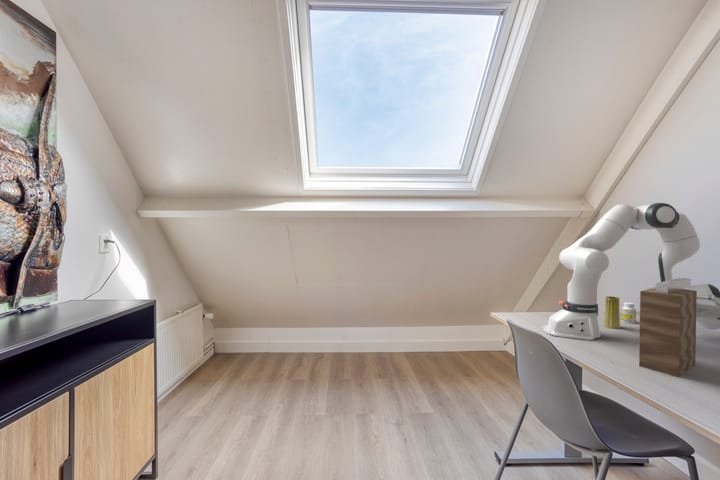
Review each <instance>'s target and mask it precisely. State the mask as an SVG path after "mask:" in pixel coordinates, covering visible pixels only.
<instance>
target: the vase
mask: <svg viewBox="0 0 720 480" xmlns="http://www.w3.org/2000/svg"><path fill="white" fill-rule="evenodd" d="M604 308H605V309H604V310H605V311H604V323H603V324H604V325H603V326H604V327H605V328H609V329H615V330H618V329H621V322H620V321H621V320H620V297H618V296H605V307H604Z"/></svg>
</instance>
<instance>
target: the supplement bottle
mask: <svg viewBox="0 0 720 480" xmlns="http://www.w3.org/2000/svg"><path fill="white" fill-rule="evenodd" d="M636 314H637V309H636V307H635V303H633V302H628V301H627V302H623V306H622V307H621V321H622V323H626V324H635V323H636V319H637V318H636V317H637V315H636Z"/></svg>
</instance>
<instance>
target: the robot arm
mask: <svg viewBox="0 0 720 480" xmlns="http://www.w3.org/2000/svg"><path fill="white" fill-rule="evenodd" d="M630 229H632V230H638V231H641V230H654V229H655V230H656V231H657V232H658V233H659V235H660V239H661V241H662V244H663V248H662V249H663V250H662V252H660V253H659V255H658V257H657V258H658V259H657V261H658V270H659V271H658V272H659V276H660V277H659V278H660V282H664V281H668V280H672V279H674V277H673V273H672V272H673V271H672V269H673V268H674V267H675V266H676V265H678V264H679V263H681V262H683V261H686V260H687V259H690V258H691V257H693V256H694V255H696V254H697V252H699V250H700V248H701V244H700V238H699V237H698V234H697V231H696V229H695V226H693V224H692V222H691V221H690V219H689V218H688V216H687V215H685V214H684V213H681V212H678V211H677V209H676V208H675V207H674V206H673V205H671V204H669V203H665V202H655V203H645V204H641V205H638V206H632V205H629V204H625V203H620V204H616V205H615V206H613V207H612V208H611V209H609V210H608V211H607V212H606V213H605V214H604V215H603V216H601V218H600V219H599V220H598V221H597V222H596V224H594V226H593V227H592V228H590V230H589V231H587V233H586V234H585V235H583V236H582V237H581V238H579V239H577V240H576V241H575V242H574V243H572V245H570V246H568V247H566V248H564V249H562V250H561V252H560V253H559V256H558V259H559V263H560V264H561V265H562V266H564V267H565V268H567V269H568V270H570V271H573V272H572V273H573V274H572V277H571V280H569V282H568V283H567V288H566V289H567V293H566V294H567V299H566V301H562V300H559V302H558V304H559V305H560V306H561V307H562V309H560V310H558V311H556V312H554V314H551V315H550V316H549V318H548V321H547V324H544V325H542V328H543V329H542V330H543V332H544V333H546V334H547V333H548V334H547V335H550V334H551V335H550V336H552V335H553V337H561V338H571V339H578V340H585V341H586V340H588V341H594V340H595V339H597V338H601V337H602V334H601V331H600V328H599V321H598V316H599V304H598V286H599V282H600V279H601V276H602V274H603V273H604V272H605V271H606V270H607V269H608V268H609V265H610V258H609V256H608V255H607V254H606V253H605V252H606V251H608V250H611V249H612V248H613V247H614V246H616V244H617V243H618V242H620V240H621V239H622V238H623V236H625V235H626V233H628V231H629V230H630ZM685 290H694V291H697V302H696V323H697V324H698V325H700V326H701V327H702V328H705V329H707V330H711V331H713V330H720V289H719V288H718V287H717V286H715V285H713V284H711V283H703V284H694V285H691V287H689V288H685Z"/></svg>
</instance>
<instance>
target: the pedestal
mask: <svg viewBox="0 0 720 480" xmlns="http://www.w3.org/2000/svg"><path fill="white" fill-rule="evenodd" d="M639 293H640V295H639V298H640V299H639V348H638V349H639V354H638V355H639V356H638V360H639V363H638V365H639V367H642V368H645V369H649V370H652V371H655V372H658V373H662V374H667V375H669V376H673V377H677V378H679V377H681V376H682V375H683V374H685V373H687V372H688V371H690V370H691V369H693V368H694V367H696V347H697V346H696V342H697V321H696V302H697V291H694V290H685V289H682V290H679V291H675V292H672V293H668V294H666V293H658V292H656V286H655V287H652V288H648V289H644V290H640V291H639Z"/></svg>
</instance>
